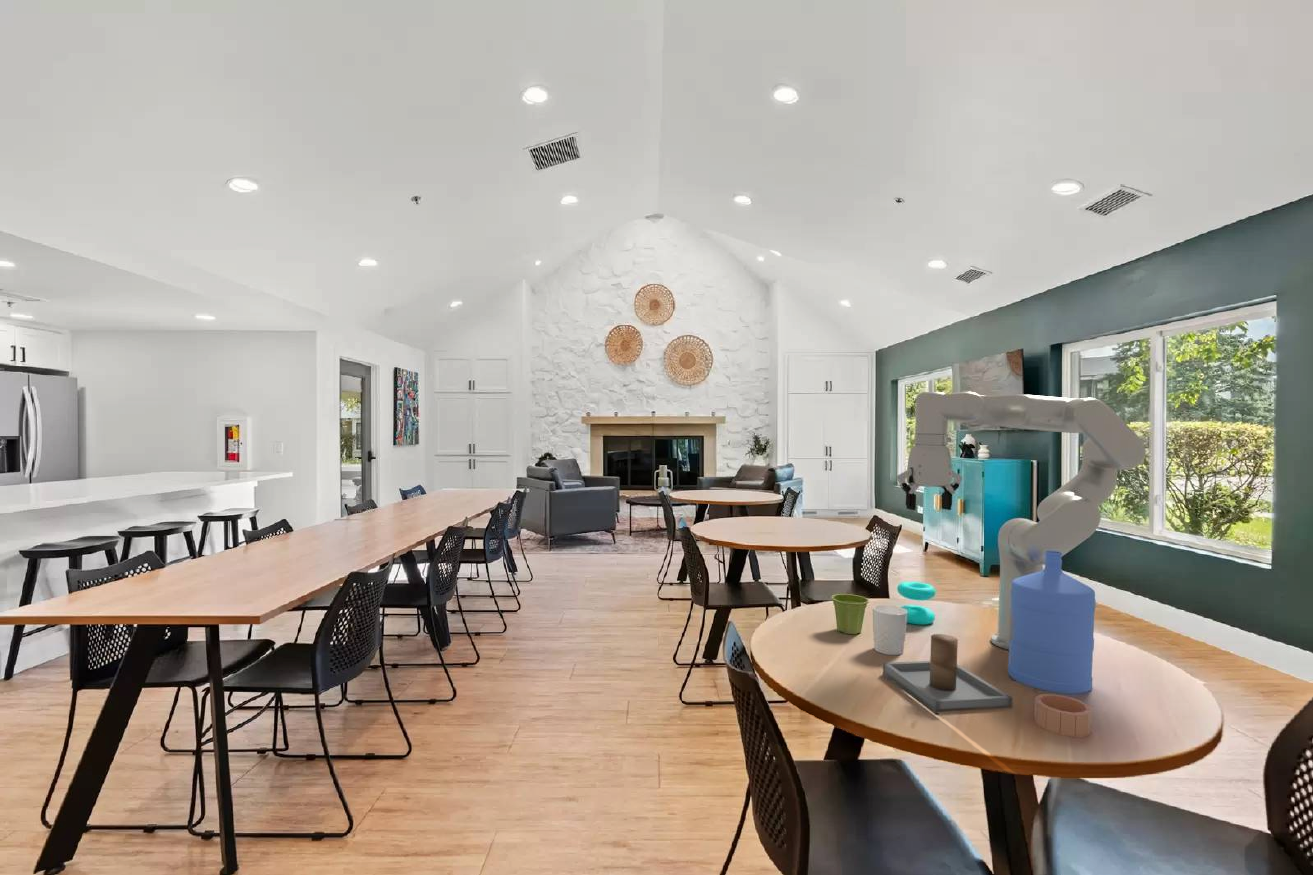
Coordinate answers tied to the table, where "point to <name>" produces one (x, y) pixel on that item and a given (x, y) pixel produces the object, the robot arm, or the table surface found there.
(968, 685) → the slate tray
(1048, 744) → the table surface
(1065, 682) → the water jug
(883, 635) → the white cup
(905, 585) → the donuts
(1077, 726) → the terracotta cup
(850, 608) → the plant pot
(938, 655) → the walnut cylinder
